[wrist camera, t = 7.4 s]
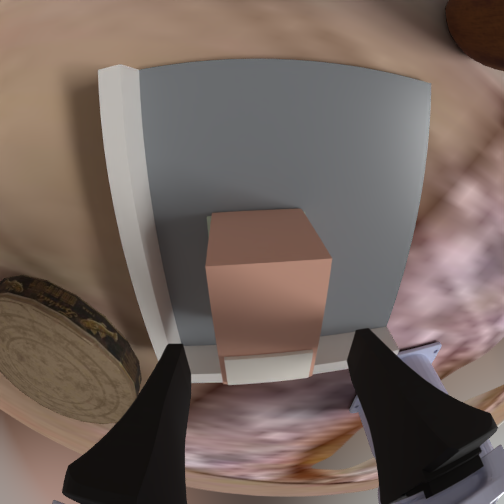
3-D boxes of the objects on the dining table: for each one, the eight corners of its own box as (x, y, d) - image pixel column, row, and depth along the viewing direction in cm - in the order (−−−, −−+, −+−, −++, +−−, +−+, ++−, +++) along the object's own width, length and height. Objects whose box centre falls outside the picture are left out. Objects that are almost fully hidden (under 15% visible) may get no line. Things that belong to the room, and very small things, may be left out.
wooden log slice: (174, 345, 20) (169, 377, 17) (113, 415, 25) (108, 437, 23) (-3, 234, 14) (-27, 255, 12) (-8, 345, 20) (-19, 364, 17)
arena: (380, 331, 21) (395, 358, 18) (171, 350, 20) (166, 382, 17) (426, 83, 12) (460, 85, 9) (123, 74, 11) (98, 69, 8)
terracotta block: (301, 208, 15) (334, 261, 10) (294, 313, 18) (312, 379, 13) (212, 212, 14) (204, 269, 10) (222, 318, 18) (223, 387, 13)
